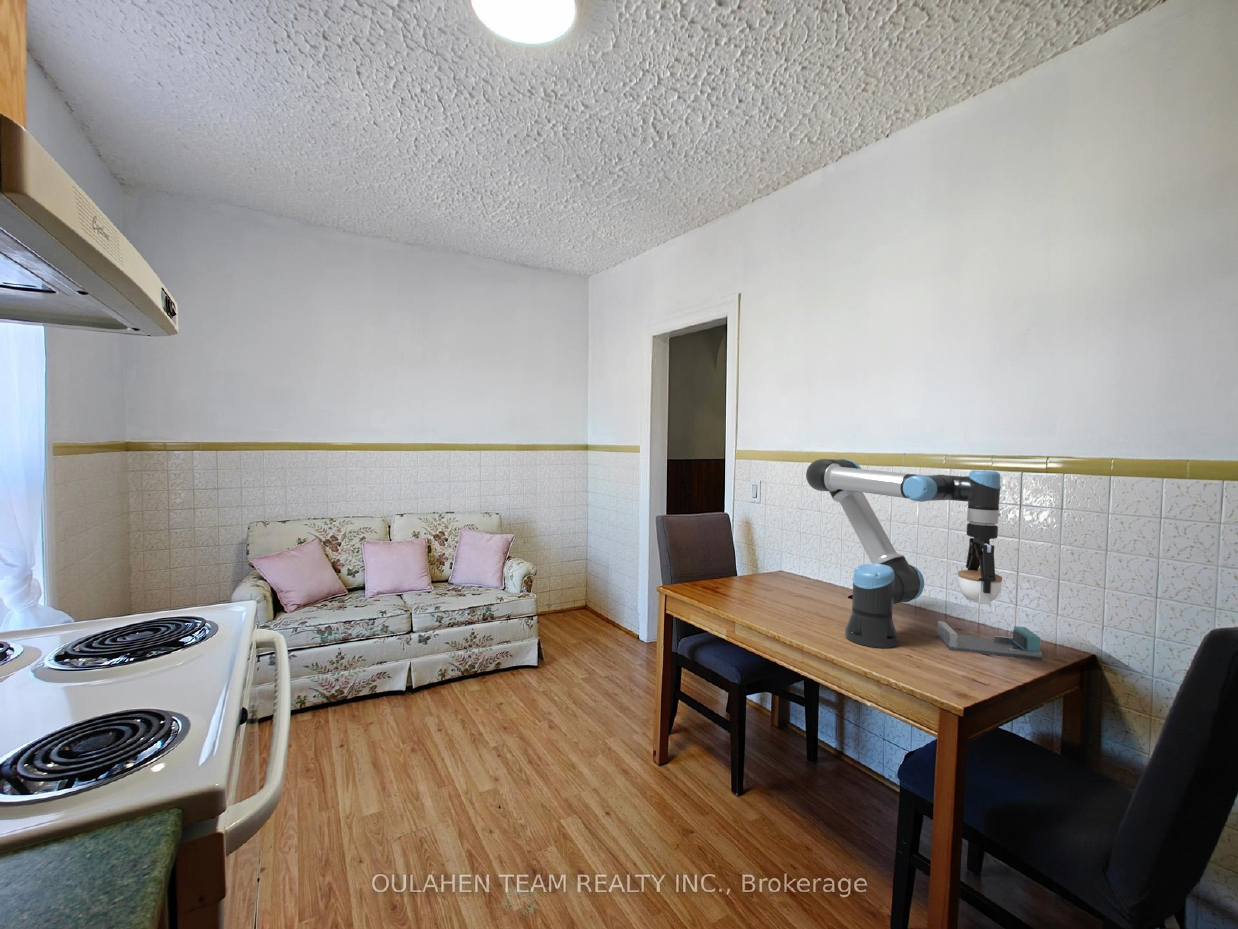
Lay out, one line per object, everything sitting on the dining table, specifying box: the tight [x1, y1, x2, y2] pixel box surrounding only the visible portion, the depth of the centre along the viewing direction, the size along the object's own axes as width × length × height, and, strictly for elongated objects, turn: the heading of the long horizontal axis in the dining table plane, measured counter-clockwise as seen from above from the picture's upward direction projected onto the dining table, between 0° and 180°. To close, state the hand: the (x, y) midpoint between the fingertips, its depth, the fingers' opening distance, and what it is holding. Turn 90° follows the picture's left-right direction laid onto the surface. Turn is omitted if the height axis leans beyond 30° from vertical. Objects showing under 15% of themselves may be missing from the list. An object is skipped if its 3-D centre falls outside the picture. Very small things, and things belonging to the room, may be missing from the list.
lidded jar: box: [957, 567, 1003, 604], centre depth 158 cm, size 11×11×9 cm
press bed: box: [936, 620, 1043, 661], centre depth 169 cm, size 24×13×5 cm, turn 74°
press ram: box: [1012, 625, 1041, 652], centre depth 166 cm, size 4×10×5 cm, turn 164°
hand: (978, 598), depth 158 cm, fingers closed on lidded jar, 11 cm apart
